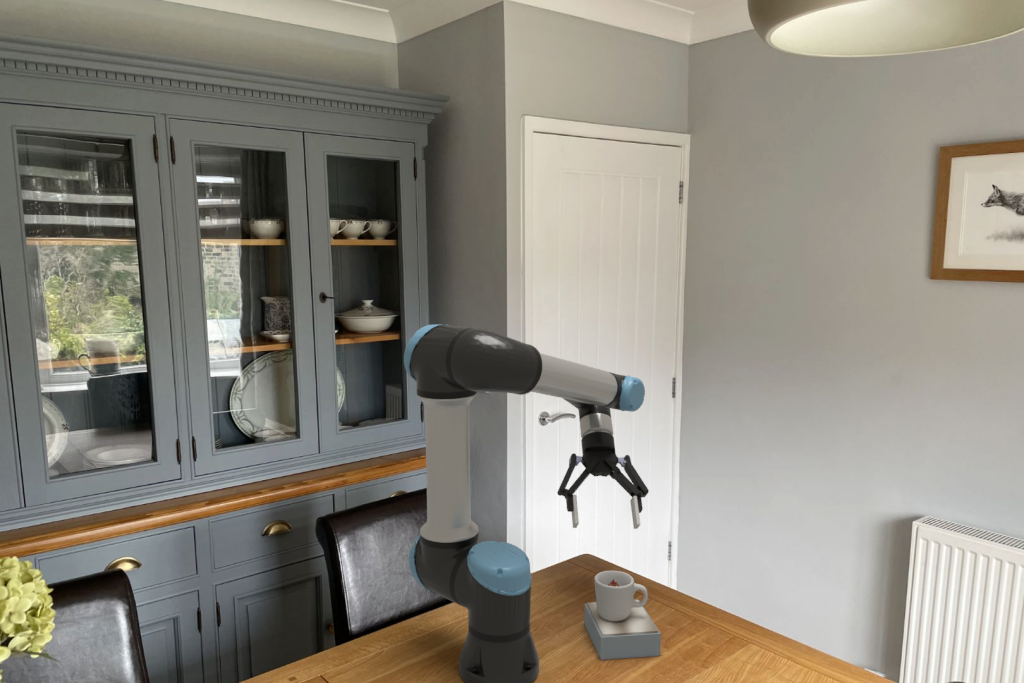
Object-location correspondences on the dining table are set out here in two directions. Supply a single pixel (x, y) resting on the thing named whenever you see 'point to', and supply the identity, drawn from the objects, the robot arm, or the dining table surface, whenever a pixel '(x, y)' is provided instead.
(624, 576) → the cup
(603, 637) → the grey flat block
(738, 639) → the dining table surface
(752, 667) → the dining table surface
